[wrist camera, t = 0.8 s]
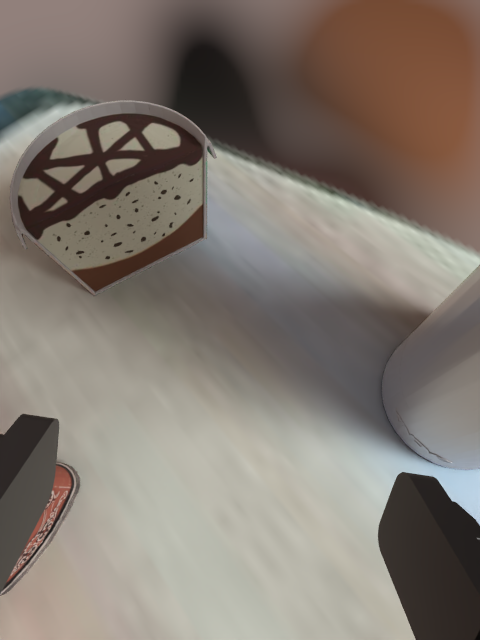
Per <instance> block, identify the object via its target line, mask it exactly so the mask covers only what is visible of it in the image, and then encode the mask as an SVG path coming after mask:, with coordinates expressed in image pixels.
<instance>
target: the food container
mask: <svg viewBox="0 0 480 640" xmlns="http://www.w3.org/2000/svg"><path fill="white" fill-rule="evenodd" d="M207 151H208V152H209V153H210V154H211V155H212V156H213V158H214V159H215V158H217V156H216V154H215V151H214V149H213V146H212V144H211V142H210V141H209V140H208V138H207V137H206V135H205V134H204V133H203V132H202V131H201V130H200V129H199V127H198V126H196V125H195V124H194V123H193V122H192V121H190V120H189V119H188V118H186V117H185V116H183V115H181V114H179V113H178V112H176V111H174V110H171V109H168V108H166V107H164V106H161V105H156V104H152V103H149V102H140V101H113V102H104V103H100V104H96V105H92V106H88V107H85V108H82V109H80V110H77V111H74V112H72V113H70V114H68V115H66V116H64V117H62V118H61V119H59V120H58V121H56V122H55V123H53V124H52V125H50V126H49V127H47V128H46V129H45V130H44V131H43V132H42V133H40V134H39V135H38V136H37V137H36V138H35V139H34V140H33V142H32V143H31V144H30V145H29V146H28V147H27V149H26V150H25V152H24V153H23V155H22V156H21V158H20V160H19V162H18V164H17V166H16V169H15V171H14V174H13V178H12V182H11V186H10V205H11V213H12V221H13V224H14V227H15V230H16V233H17V235H18V237H19V239H20V241H21V244H22V246H23V248H24V249H27V247H26V244H25V241H24V238H23V234H24V235H26V236H27V237H28V238H29V239H30V240H31V241H32V242H34V243H35V244H36V245H37V246H38V247H39V248H40V249H42V250H43V251H44V252H45V253H46V254H47V255H48V256H50V257H51V258H52V259H53V260H54V261H55V262H56V263H57V264H59V265H60V266H61V267H62V268H63V269H64V270H65V271H67V272H68V273H69V274H70V275H71V276H72V277H73V278H75V279H76V280H77V281H78V282H79V283H80V284H81V285H82V286H84V287H85V288H86V289H87V290H88V291H89V292H90V293H92V294H93V295H94V296H95V295H97V294H99V293H101V292H103V291H105V290H107V289H109V288H111V287H113V286H115V285H117V284H119V283H121V282H123V281H125V280H127V279H129V278H131V277H133V276H134V275H136V274H138V273H140V272H142V271H144V270H146V269H148V268H150V267H152V266H154V265H156V264H158V263H160V262H162V261H164V260H166V259H168V258H170V257H172V256H174V255H176V254H178V253H180V252H182V251H184V250H186V249H187V248H189V247H191V246H193V245H195V244H197V243H199V242H201V241H203V240H205V239H207Z"/></svg>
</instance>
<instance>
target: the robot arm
mask: <svg viewBox="0 0 480 640" xmlns="http://www.w3.org/2000/svg"><path fill="white" fill-rule="evenodd" d="M382 398H383V404H384V407H385V410H386V414H387V417H388V419H389V421H390V422H391V424H392V426H393V428H394V430H395V431H396V433H397V434H398V435H399V436H400V438H401V439H402V440H403V441H404V442H405V444H406V445H407V446H409V447H410V448H411V449H412V450H414V451H415V452H416V453H417V454H418V455H420V456H422V457H423V458H425V459H427V460H429V461H431V462H433V463H434V464H438V465H441V466H444V467H447V468H451V469H460V470H471V469H480V265H479V266H478V267H477V268H476V269H475V270H474V271H473V272H472V273H471V274H470V275H469V276H468V277H467V278H466V279H465V280H464V281H463V282H462V283H461V284H460V285H459V286H458V287H457V288H456V289H455V290H454V291H453V292H452V293H451V294H450V295H449V296H448V297H447V298H446V299H445V300H444V301H443V302H442V303H441V304H440V305H439V306H438V307H437V308H436V309H435V310H434V311H433V312H432V313H431V314H430V316H429V317H428V318H427V319H426V320H425V321H424V322H423V323H422V324H420V325H419V326H418V327H417V328H416V329H415V330H414V331H413V332H412V333H411V334H410V335H409V336H408V337H407V339H406V340H405V341H404V342H403V343H402V344H401V345H400V346H399V347H398V348H397V349H396V350H395V351H394V352H393V354H392V355H391V357H390V359H389V360H388V362H387V364H386V367H385V370H384V373H383V379H382ZM58 434H59V421H58V419H54V418H47V417H40V416H34V415H27V414H22V415H20V417H19V418H18V419H17V420H16V421H15V422H14V424H13V425H12V426H11V427H10V429H9V430H8V431H7V432H6V433H5V435H1V434H0V594H1V592H2V590H3V588H4V586H5V584H6V582H7V580H8V578H9V576H10V575H11V573H12V571H13V569H14V567H15V565H16V563H17V561H18V559H19V557H20V555H21V554H22V552H23V550H24V548H25V546H26V544H27V542H28V540H29V538H30V536H31V534H32V533H33V531H34V529H35V527H36V525H37V523H38V521H39V519H40V517H41V515H42V514H43V512H44V510H45V508H46V506H47V504H48V501H49V499H50V496H51V493H52V489H53V485H54V480H55V472H56V459H57V447H58ZM378 541H379V547H380V551H381V554H382V556H383V559H384V561H385V564H386V566H387V569H388V571H389V574H390V576H391V579H392V581H393V584H394V586H395V589H396V591H397V594H398V596H399V599H400V601H401V604H402V606H403V609H404V611H405V614H406V616H407V619H408V621H409V624H410V626H411V629H412V631H413V634H414V636H415V639H416V640H480V526H479V524H478V523H477V521H476V520H475V519H474V518H473V517H472V516H471V515H470V514H468V513H467V512H466V511H465V510H464V509H463V508H462V507H461V506H459V505H458V504H457V503H456V502H452V501H451V499H450V498H449V496H448V495H447V493H446V492H445V490H444V489H443V487H442V486H441V484H440V483H439V481H438V480H437V479H436V478H434V477H431V476H425V475H418V474H411V473H405V472H402V473H400V474H399V475H398V476H397V478H396V480H395V483H394V485H393V488H392V491H391V494H390V496H389V499H388V502H387V504H386V507H385V510H384V513H383V515H382V518H381V521H380V524H379V530H378Z"/></svg>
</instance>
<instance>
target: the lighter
mask: <svg viewBox="0 0 480 640" xmlns="http://www.w3.org/2000/svg"><path fill="white" fill-rule="evenodd" d="M79 489H80V477H79V475H78V473H77V471H76V470H75V469H74V468H73V467H71V466H69V465H67V464H63V463H56V472H55V480H54V485H53V489H52V493H51V496H50V499H49V501H48V504H47V506H46V508H45V510H44V512H43V514H42V515H41V517H40V519H39V521H38V523H37V525H36V527H35V529H34V531H33V533H32V534H31V536H30V538H29V540H28V542H27V544H26V546H25V548H24V550H23V552H22V554H21V555H20V557H19V559H18V561H17V563H16V565H15V567H14V569H13V571H12V573H11V575H10V576H9V578H8V580H7V582H6V584H5V586H4V588H3V590H2V592H1V594H0V596H1V595H4V594H5V593H7V592H8V591H10V590H11V589H12V588H13V587H14V586H15V585H16V584H17V583H18V582H19V580H20V579H21V578H22V577H23V576H24V575H25V574H26V573H27V572H28V571H29V570H30V569H31V568H32V567H33V565H34V564H35V563H36V562H37V560H38V559H39V558H40V557H41V555H42V554H43V553H44V551H45V550H46V549H47V548H48V546H49V545H50V544H51V542H52V541H53V539H54V537H55V536H56V534H57V532H58V531H59V529H60V527H61V526H62V524H63V523H64V521H65V519H66V518H67V516H68V514H69V511H70V509H71V507H72V505H73V503H74V501H75V499H76V497H77V495H78V492H79Z"/></svg>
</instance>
